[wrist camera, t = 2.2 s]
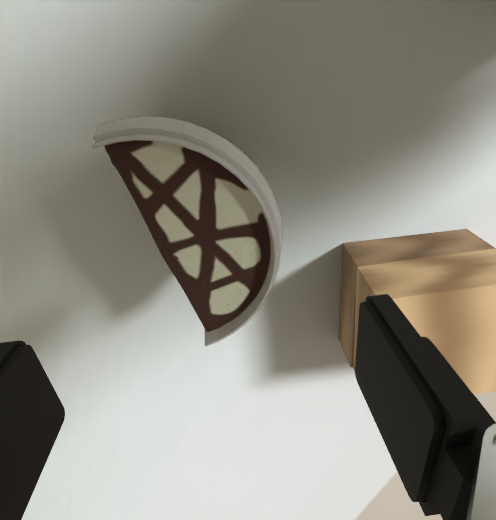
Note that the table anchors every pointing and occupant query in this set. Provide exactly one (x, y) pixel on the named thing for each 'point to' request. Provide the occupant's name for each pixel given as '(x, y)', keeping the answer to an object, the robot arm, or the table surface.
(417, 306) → the oak slab
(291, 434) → the table surface
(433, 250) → the tan cardboard flat block
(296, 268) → the table surface
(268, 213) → the food container
